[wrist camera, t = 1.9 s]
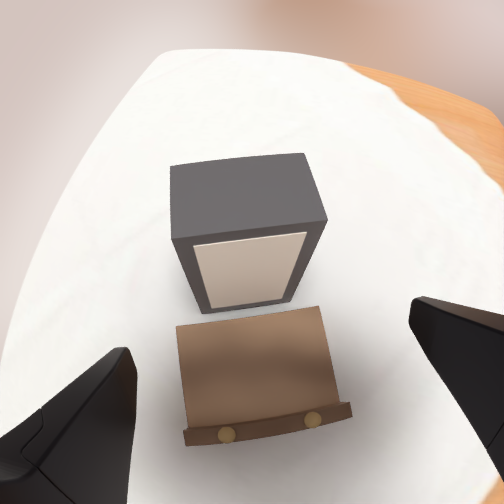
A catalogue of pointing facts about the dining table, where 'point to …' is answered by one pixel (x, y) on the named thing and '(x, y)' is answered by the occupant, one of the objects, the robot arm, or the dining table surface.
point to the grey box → (245, 228)
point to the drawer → (257, 377)
